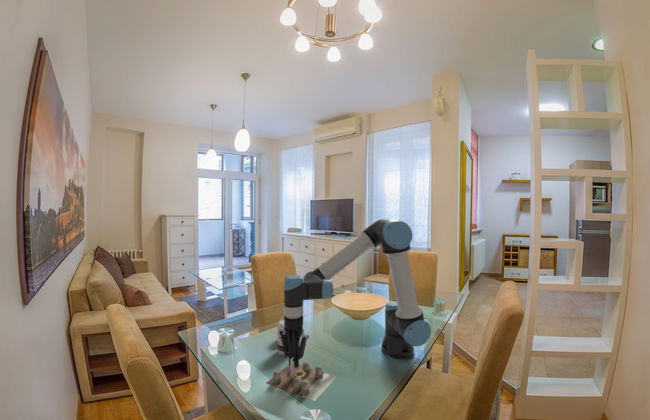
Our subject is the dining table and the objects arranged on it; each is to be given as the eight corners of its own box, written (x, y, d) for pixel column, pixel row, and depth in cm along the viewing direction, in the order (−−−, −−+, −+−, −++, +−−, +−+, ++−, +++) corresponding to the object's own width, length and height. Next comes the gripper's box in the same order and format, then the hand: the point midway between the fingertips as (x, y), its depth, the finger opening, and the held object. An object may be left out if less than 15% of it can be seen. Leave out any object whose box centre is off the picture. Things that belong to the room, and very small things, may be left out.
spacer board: (336, 379, 117) (336, 366, 117) (314, 404, 102) (314, 390, 102) (291, 365, 127) (291, 353, 127) (265, 386, 113) (265, 372, 113)
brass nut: (308, 378, 116) (307, 371, 116) (300, 385, 111) (300, 378, 111) (298, 375, 118) (298, 368, 118) (291, 381, 113) (291, 375, 113)
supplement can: (295, 349, 142) (295, 318, 142) (294, 358, 134) (294, 325, 133) (278, 349, 141) (278, 318, 141) (276, 358, 133) (276, 325, 133)
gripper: (312, 315, 116) (312, 374, 116) (286, 309, 122) (286, 365, 123) (302, 321, 109) (302, 384, 110) (274, 315, 116) (274, 374, 116)
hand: (293, 374), depth 116 cm, fingers closed
